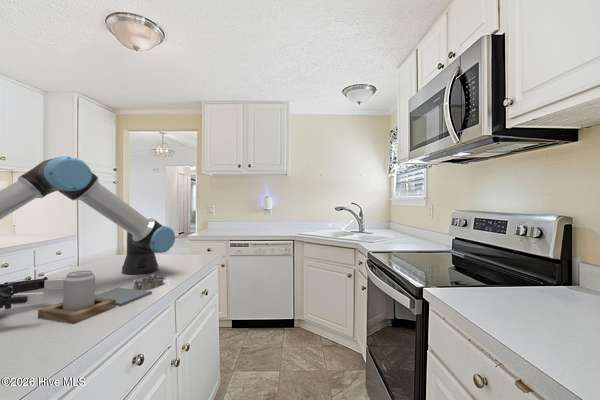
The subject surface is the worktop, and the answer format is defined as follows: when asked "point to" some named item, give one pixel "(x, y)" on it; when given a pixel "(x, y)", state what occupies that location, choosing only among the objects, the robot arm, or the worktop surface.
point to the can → (78, 290)
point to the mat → (123, 295)
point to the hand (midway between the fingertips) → (57, 290)
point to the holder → (73, 317)
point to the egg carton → (148, 282)
